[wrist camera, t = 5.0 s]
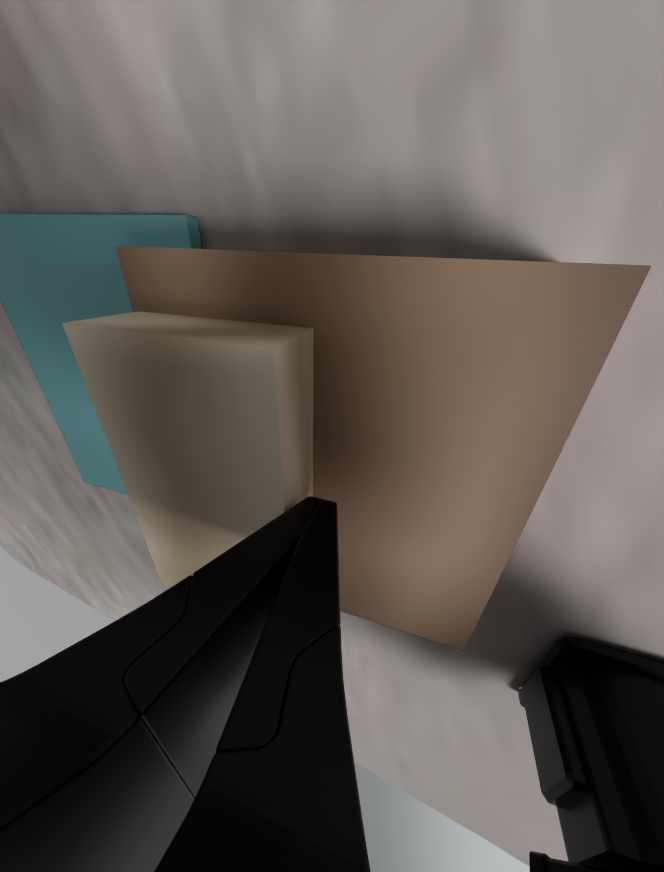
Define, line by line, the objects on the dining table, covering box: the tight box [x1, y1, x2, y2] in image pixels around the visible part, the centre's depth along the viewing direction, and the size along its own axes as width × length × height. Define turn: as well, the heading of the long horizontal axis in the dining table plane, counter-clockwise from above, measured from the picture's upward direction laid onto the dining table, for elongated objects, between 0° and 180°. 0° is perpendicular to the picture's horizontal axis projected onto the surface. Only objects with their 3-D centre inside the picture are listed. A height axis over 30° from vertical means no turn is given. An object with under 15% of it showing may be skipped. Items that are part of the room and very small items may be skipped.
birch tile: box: [62, 311, 314, 588], centre depth 9 cm, size 5×9×2 cm, turn 178°
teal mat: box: [0, 214, 202, 494], centre depth 15 cm, size 11×14×1 cm
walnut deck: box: [115, 246, 651, 651], centre depth 11 cm, size 11×12×4 cm
